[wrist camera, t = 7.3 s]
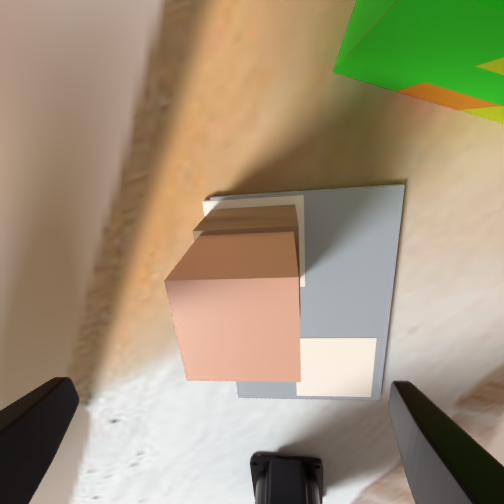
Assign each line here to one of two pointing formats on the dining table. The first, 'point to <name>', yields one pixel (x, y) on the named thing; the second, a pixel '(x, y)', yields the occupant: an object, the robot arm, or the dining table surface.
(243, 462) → the dining table surface
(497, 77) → the puzzle toy
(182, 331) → the terracotta block
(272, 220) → the block
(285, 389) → the board
